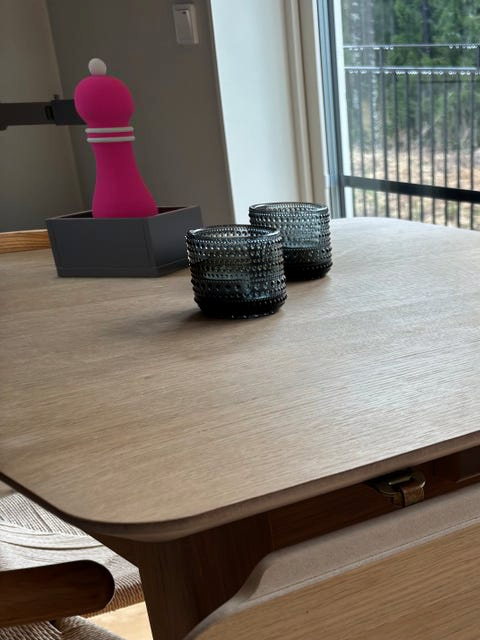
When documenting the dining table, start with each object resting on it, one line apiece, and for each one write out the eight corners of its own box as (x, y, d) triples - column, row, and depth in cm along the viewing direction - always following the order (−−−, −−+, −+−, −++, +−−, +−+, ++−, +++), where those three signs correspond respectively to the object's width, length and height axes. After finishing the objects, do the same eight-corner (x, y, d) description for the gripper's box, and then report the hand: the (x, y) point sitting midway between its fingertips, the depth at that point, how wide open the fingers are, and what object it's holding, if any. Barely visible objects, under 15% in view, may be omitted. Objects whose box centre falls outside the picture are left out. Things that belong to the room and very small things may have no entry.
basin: (57, 276, 110) (44, 219, 107) (116, 260, 120) (105, 207, 117) (158, 277, 107) (147, 218, 104) (208, 259, 118) (200, 205, 115)
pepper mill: (88, 263, 111) (44, 59, 102) (127, 253, 117) (89, 60, 107) (142, 264, 109) (102, 56, 99) (178, 254, 115) (145, 57, 105)
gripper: (20, 146, 130) (136, 144, 121) (-163, 157, 111) (-42, 157, 102) (5, 81, 126) (123, 74, 117) (-187, 81, 107) (-63, 73, 98)
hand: (47, 113), depth 110 cm, fingers open, 13 cm apart
